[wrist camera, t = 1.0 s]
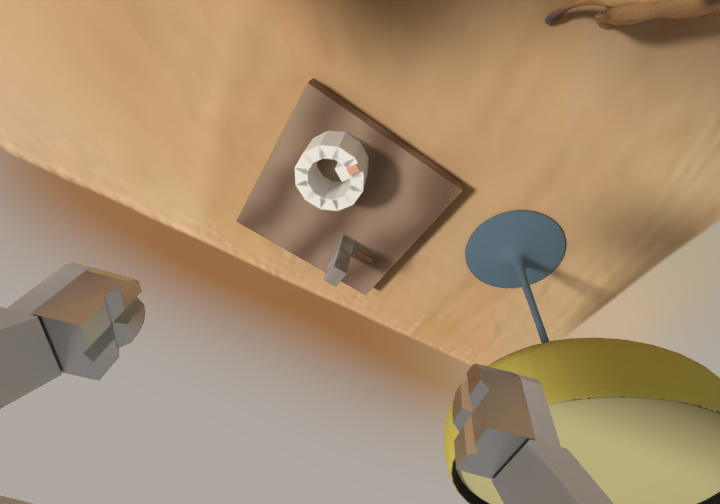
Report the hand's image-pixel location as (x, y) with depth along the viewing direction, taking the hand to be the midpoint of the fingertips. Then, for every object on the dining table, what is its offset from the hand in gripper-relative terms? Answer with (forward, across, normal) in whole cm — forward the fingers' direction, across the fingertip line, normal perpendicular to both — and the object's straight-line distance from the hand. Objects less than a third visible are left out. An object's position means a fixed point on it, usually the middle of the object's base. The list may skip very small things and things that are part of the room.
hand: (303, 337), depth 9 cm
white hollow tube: (+30, +4, +8) cm, 31 cm away
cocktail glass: (+32, -18, +14) cm, 40 cm away
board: (+32, +2, +13) cm, 34 cm away
